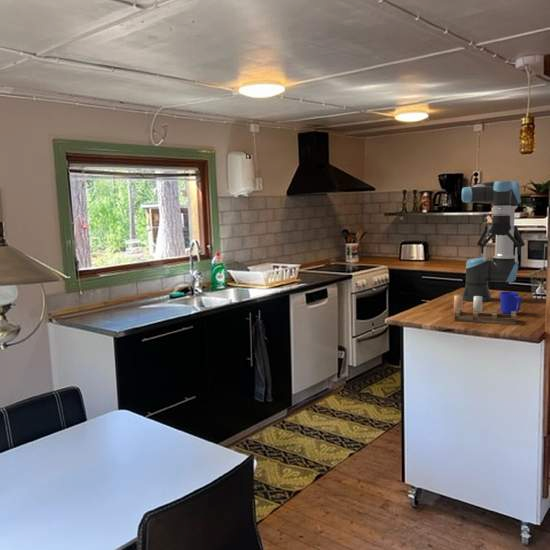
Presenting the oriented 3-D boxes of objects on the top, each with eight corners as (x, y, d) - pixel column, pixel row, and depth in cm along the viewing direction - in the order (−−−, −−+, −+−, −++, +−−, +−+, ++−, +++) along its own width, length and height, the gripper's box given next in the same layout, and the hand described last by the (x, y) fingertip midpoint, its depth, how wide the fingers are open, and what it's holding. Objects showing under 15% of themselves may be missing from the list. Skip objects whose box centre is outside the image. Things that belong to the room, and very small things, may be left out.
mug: (512, 317, 256) (513, 296, 255) (495, 312, 268) (496, 292, 267) (527, 315, 258) (527, 295, 257) (509, 311, 270) (510, 291, 269)
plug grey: (473, 313, 265) (473, 295, 264) (482, 314, 264) (482, 296, 263) (472, 315, 262) (473, 297, 261) (481, 316, 260) (482, 297, 259)
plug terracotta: (454, 312, 269) (454, 294, 268) (462, 313, 267) (463, 295, 266) (453, 314, 265) (453, 296, 264) (461, 314, 264) (462, 296, 263)
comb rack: (456, 316, 260) (456, 308, 260) (515, 320, 250) (516, 311, 249) (454, 320, 251) (454, 312, 250) (515, 324, 241) (516, 315, 240)
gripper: (471, 215, 251) (470, 261, 253) (530, 215, 238) (528, 263, 241) (474, 215, 257) (473, 259, 260) (532, 214, 244) (530, 261, 247)
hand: (500, 261), depth 250 cm, fingers open, 13 cm apart
